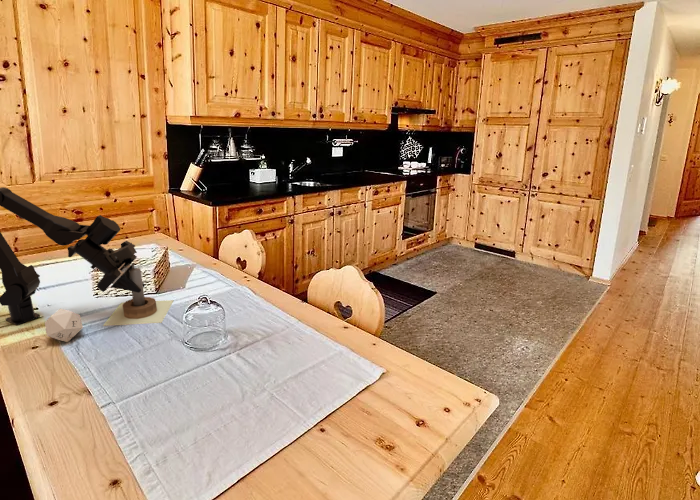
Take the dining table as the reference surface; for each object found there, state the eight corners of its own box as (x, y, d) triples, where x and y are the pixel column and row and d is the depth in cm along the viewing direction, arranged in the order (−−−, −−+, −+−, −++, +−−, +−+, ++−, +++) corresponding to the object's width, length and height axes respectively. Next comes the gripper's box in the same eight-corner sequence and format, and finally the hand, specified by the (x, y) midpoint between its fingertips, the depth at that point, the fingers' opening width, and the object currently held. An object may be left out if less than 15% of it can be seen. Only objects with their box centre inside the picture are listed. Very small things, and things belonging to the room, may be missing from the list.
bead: (117, 314, 134) (116, 305, 133) (143, 303, 141) (142, 294, 140) (137, 321, 130) (135, 311, 129) (162, 309, 137) (161, 301, 136)
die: (46, 351, 115) (65, 324, 113) (32, 328, 118) (50, 301, 116) (77, 347, 123) (94, 322, 121) (62, 326, 126) (79, 300, 124)
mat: (102, 326, 127) (102, 325, 127) (121, 303, 142) (121, 302, 142) (161, 323, 129) (161, 322, 129) (174, 301, 144) (173, 300, 144)
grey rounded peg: (132, 311, 134) (126, 271, 130) (138, 307, 137) (132, 267, 133) (142, 312, 134) (136, 272, 130) (148, 308, 137) (142, 268, 133)
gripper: (103, 245, 119) (151, 282, 124) (125, 227, 136) (167, 260, 141) (76, 274, 120) (125, 309, 125) (102, 252, 138) (144, 284, 143)
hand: (142, 289), depth 133 cm, fingers closed on grey rounded peg, 3 cm apart
